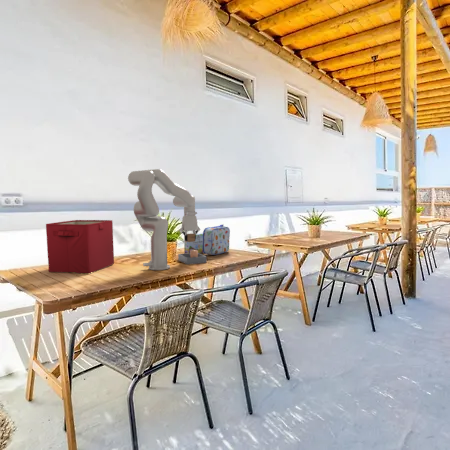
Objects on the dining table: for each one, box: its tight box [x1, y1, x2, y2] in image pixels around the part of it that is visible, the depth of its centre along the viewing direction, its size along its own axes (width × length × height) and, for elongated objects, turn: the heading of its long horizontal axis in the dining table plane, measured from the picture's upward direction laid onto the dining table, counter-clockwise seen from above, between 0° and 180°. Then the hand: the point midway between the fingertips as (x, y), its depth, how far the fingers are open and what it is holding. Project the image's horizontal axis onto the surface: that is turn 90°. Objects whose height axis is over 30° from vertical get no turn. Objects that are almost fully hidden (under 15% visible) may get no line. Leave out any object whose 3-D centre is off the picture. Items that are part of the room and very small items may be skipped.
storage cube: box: [45, 219, 115, 274], centre depth 203 cm, size 32×28×29 cm
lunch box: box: [202, 224, 231, 256], centre depth 253 cm, size 28×10×22 cm, turn 149°
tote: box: [177, 253, 207, 265], centre depth 224 cm, size 14×18×4 cm
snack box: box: [183, 232, 204, 254], centre depth 257 cm, size 21×6×15 cm, turn 143°
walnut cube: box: [187, 232, 195, 242], centre depth 226 cm, size 5×5×5 cm
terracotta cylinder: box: [190, 250, 198, 258], centre depth 221 cm, size 5×5×7 cm
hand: (190, 240), depth 226 cm, fingers closed on walnut cube, 5 cm apart
